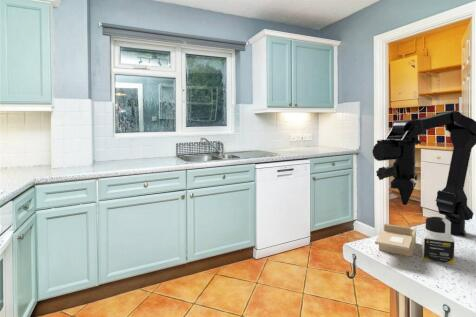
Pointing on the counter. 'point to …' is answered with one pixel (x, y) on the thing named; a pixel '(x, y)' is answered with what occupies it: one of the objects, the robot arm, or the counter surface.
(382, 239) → the lid
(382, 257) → the counter surface
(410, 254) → the mailer box
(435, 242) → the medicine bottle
